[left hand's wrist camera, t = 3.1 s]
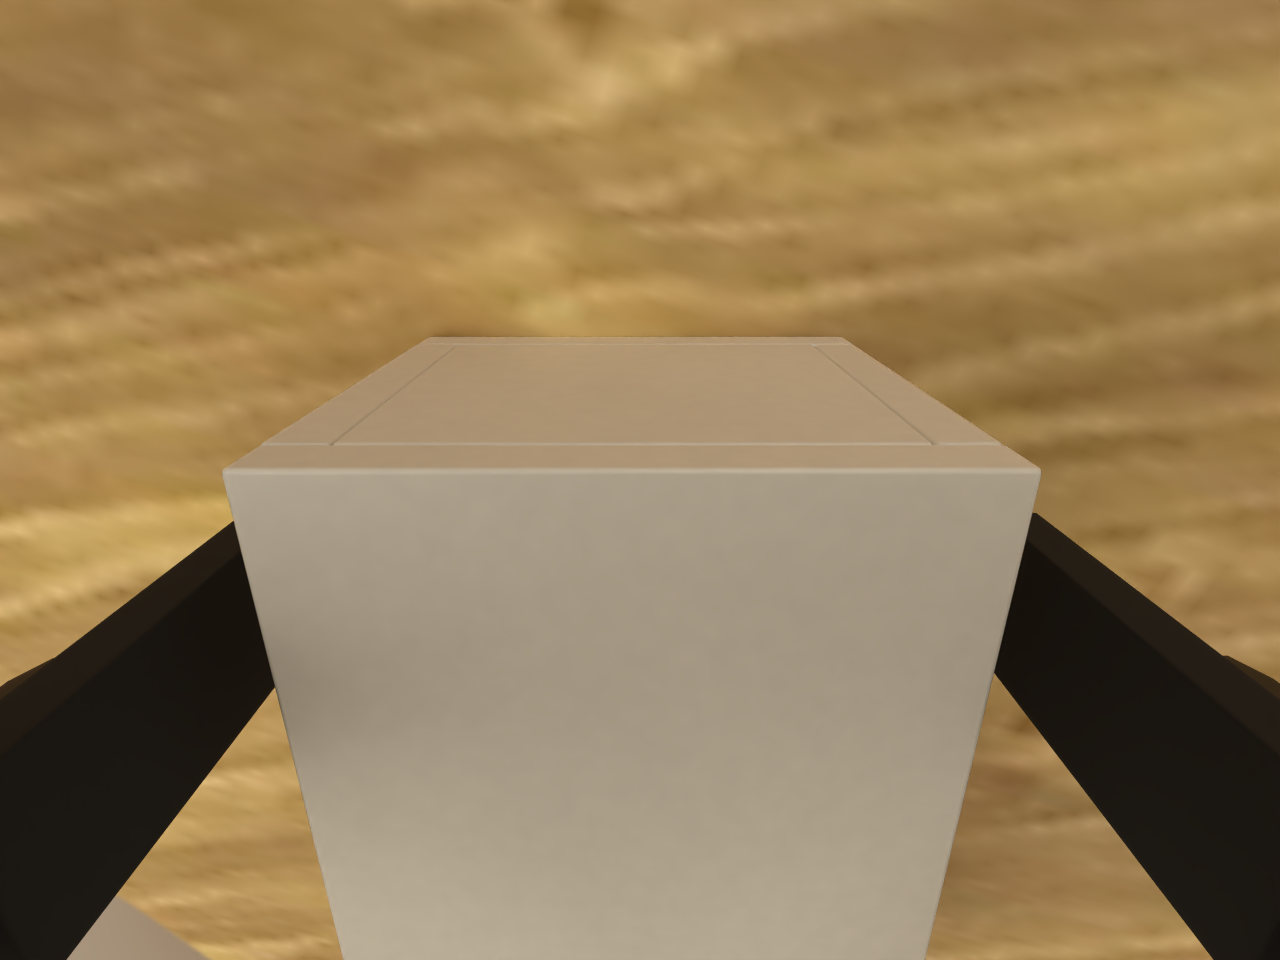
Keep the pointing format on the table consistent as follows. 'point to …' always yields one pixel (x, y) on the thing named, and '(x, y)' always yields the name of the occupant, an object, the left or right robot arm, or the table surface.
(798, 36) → the table surface
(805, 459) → the cabinet
